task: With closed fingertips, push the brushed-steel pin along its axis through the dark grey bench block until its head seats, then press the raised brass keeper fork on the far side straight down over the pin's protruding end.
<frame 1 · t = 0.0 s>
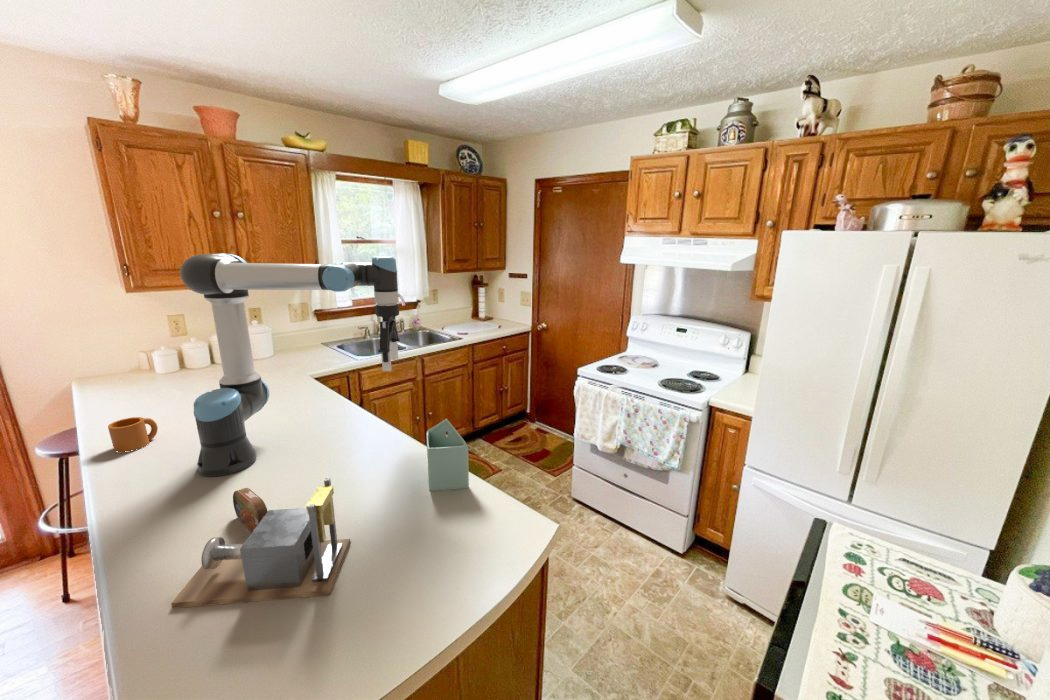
hand: (390, 365, 142), 28 cm above the countertop, fingers open, 13 cm apart
keeper: (322, 513, 87), point 14 cm above the countertop, slide at 7.0 cm
tin: (253, 524, 104), on the countertop
planter: (439, 485, 122), on the countertop
mug: (138, 445, 141), on the countertop
board: (270, 572, 89), on the countertop
pin: (252, 550, 87), point 6 cm above the countertop, slide at 0.0 cm
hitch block: (287, 570, 89), resting on board
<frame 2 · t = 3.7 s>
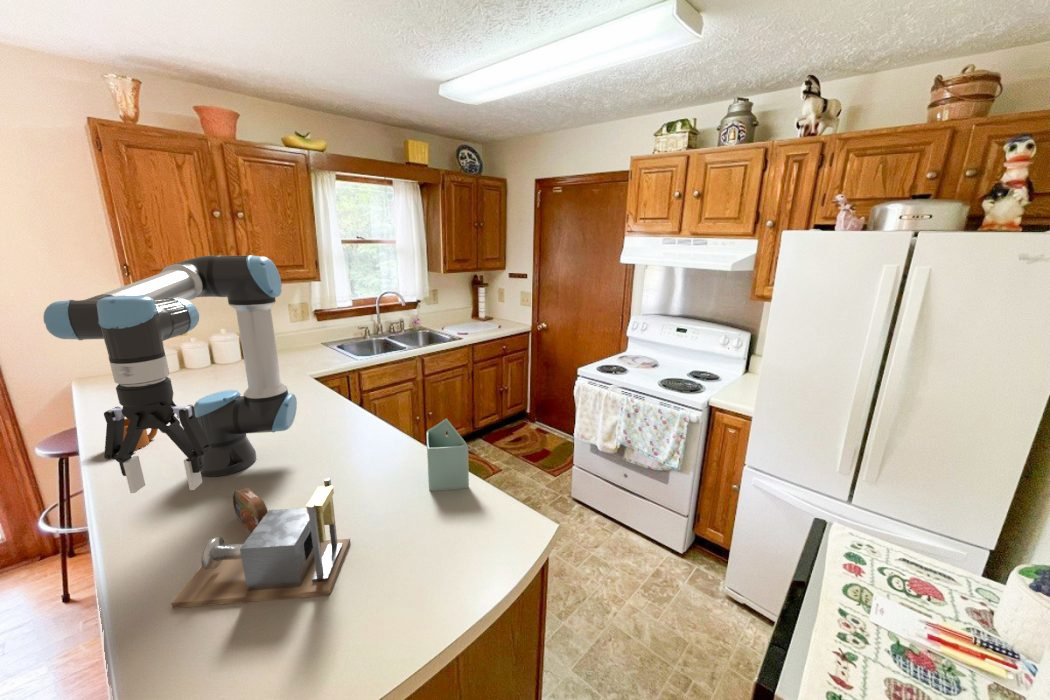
hand: (167, 487, 81), 22 cm above the countertop, fingers open, 10 cm apart
nothing on the countertop moved.
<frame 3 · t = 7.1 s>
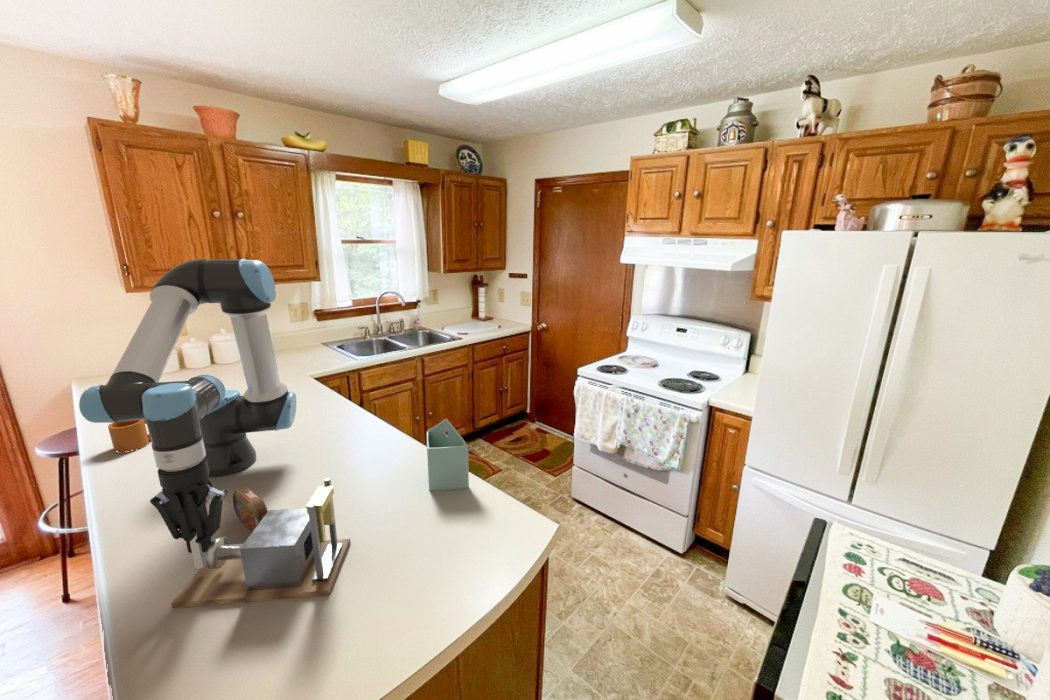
hand: (203, 563, 86), 3 cm above the countertop, fingers closed
pin: (256, 550, 87), point 6 cm above the countertop, slide at 0.9 cm, touching gripper
everything else where it was.
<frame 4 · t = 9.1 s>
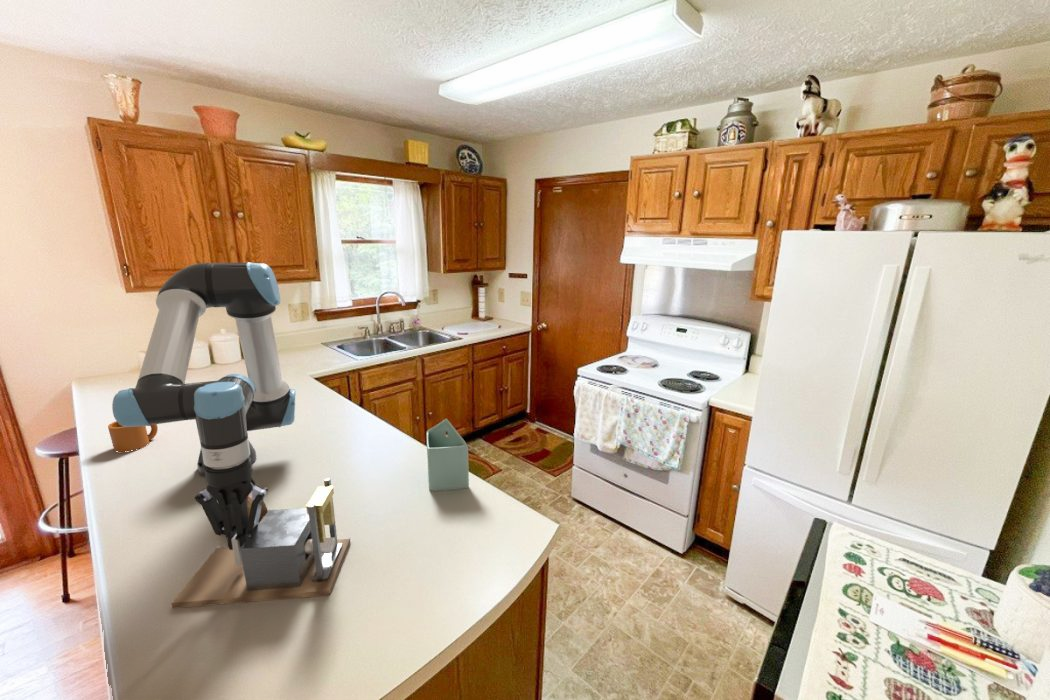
hand: (241, 560, 87), 4 cm above the countertop, fingers closed
pin: (293, 547, 88), point 6 cm above the countertop, slide at 8.2 cm, touching gripper
everything else where it was.
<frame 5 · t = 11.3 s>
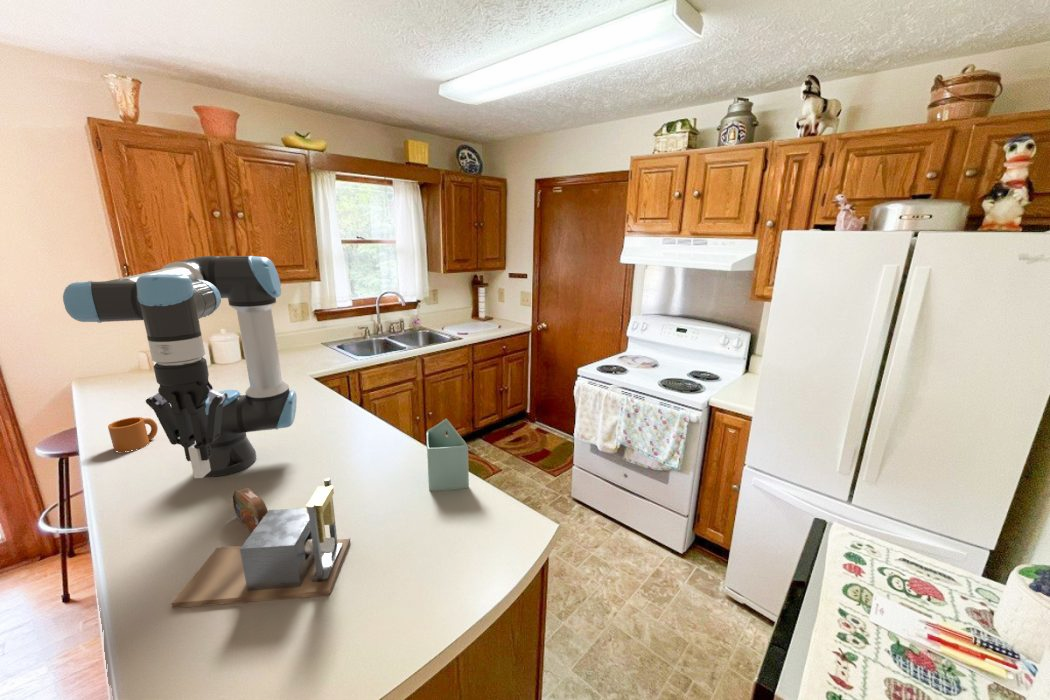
hand: (202, 474, 81), 24 cm above the countertop, fingers closed
pin: (292, 547, 88), point 6 cm above the countertop, slide at 8.0 cm
everything else where it was.
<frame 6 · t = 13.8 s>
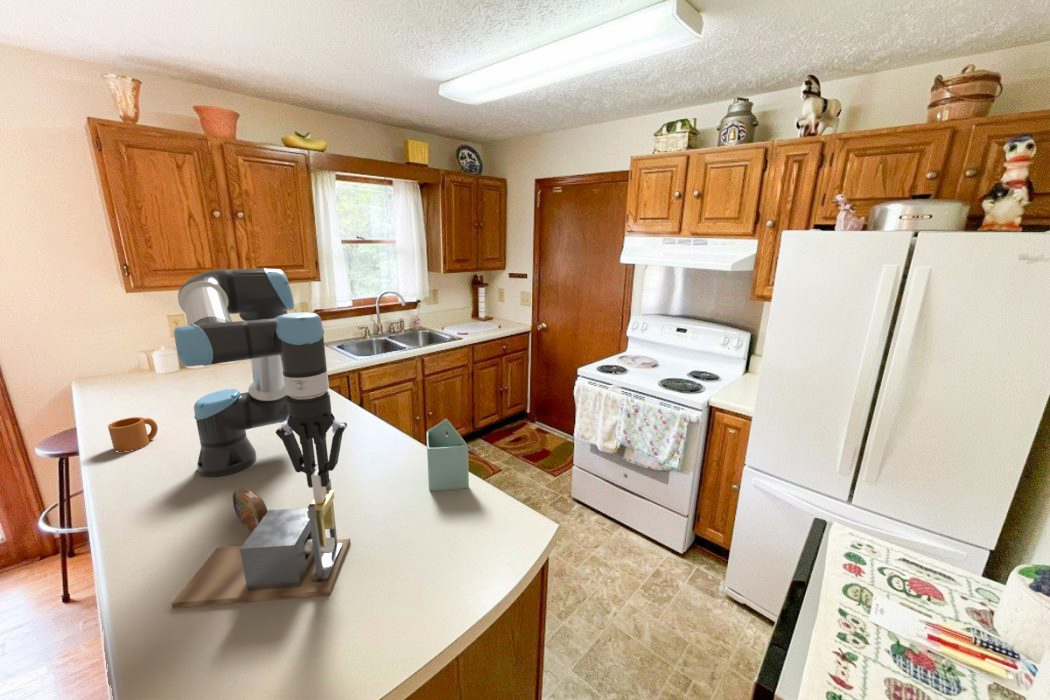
hand: (320, 499, 86), 17 cm above the countertop, fingers closed
keeper: (322, 518, 87), point 13 cm above the countertop, slide at 5.9 cm, touching gripper
everything else where it was.
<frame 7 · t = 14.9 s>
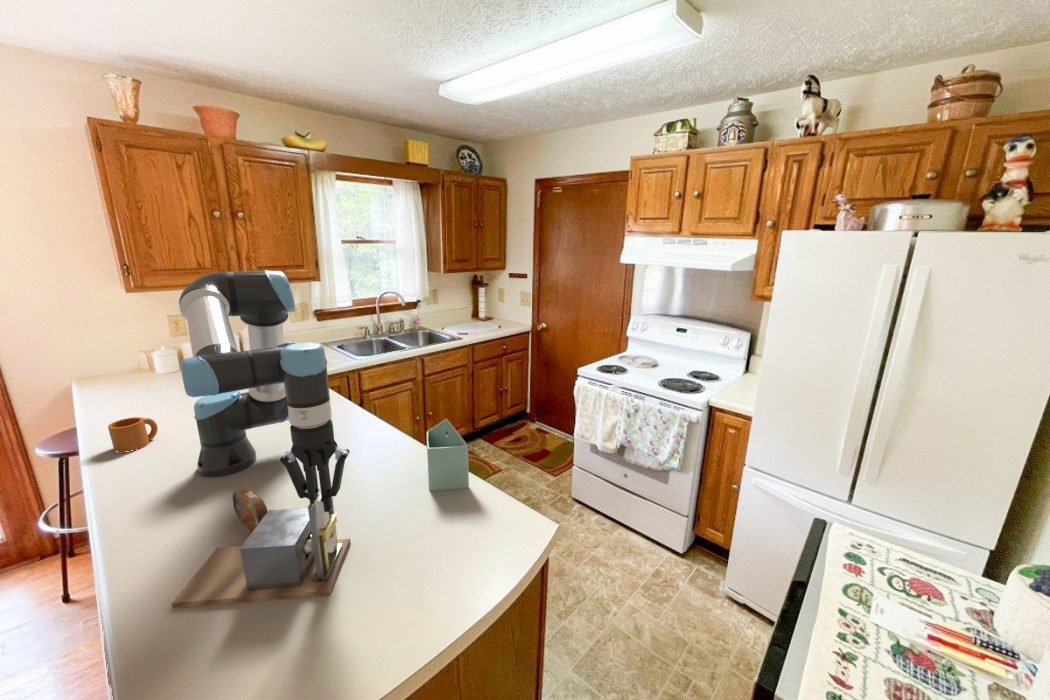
hand: (323, 523, 87), 11 cm above the countertop, fingers closed
keeper: (325, 542, 89), point 7 cm above the countertop, slide at -0.1 cm, touching gripper
everything else where it was.
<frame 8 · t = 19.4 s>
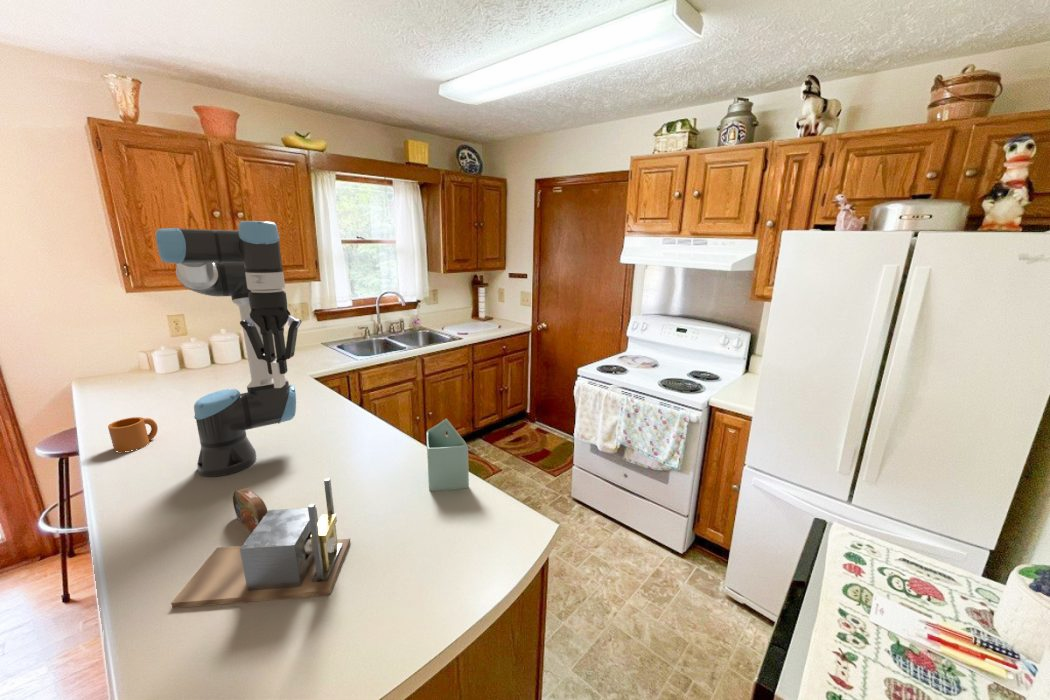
hand: (280, 386, 102), 34 cm above the countertop, fingers closed
keeper: (325, 542, 89), point 7 cm above the countertop, slide at -0.1 cm
everything else where it was.
at the end: pin slide at 8.0 cm; keeper slide at -0.1 cm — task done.
